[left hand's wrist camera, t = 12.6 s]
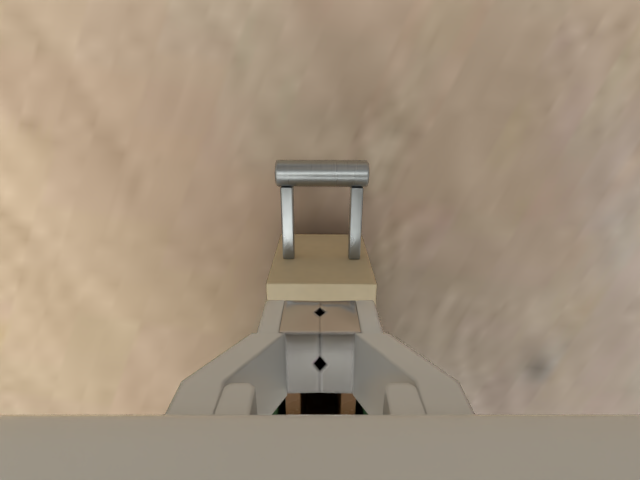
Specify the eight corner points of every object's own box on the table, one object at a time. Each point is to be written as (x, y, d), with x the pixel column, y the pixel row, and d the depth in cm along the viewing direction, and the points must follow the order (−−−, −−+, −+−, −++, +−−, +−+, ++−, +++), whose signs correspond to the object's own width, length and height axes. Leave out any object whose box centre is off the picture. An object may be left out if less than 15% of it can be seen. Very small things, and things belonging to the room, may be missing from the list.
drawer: (277, 150, 20) (259, 170, 14) (365, 151, 20) (385, 171, 14) (288, 438, 28) (279, 530, 22) (351, 438, 28) (359, 531, 22)
